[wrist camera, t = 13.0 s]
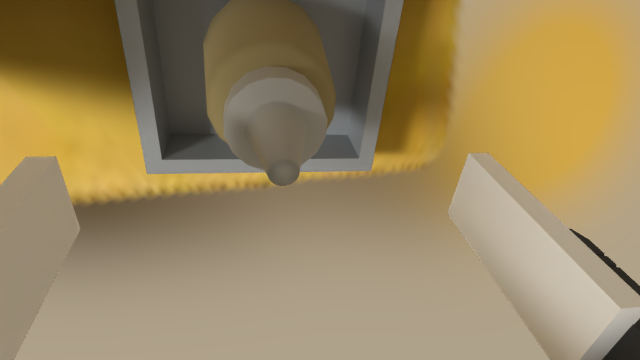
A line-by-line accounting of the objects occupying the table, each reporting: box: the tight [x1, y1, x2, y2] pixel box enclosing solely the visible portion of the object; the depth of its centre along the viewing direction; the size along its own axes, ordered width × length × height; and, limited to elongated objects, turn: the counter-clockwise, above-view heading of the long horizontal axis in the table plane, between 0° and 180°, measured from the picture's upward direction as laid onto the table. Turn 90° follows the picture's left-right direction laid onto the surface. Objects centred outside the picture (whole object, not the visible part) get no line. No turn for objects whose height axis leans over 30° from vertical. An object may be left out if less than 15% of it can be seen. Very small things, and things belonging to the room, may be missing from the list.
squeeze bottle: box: [203, 0, 336, 186], centre depth 21 cm, size 8×8×18 cm
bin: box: [114, 0, 404, 174], centre depth 27 cm, size 17×17×5 cm
